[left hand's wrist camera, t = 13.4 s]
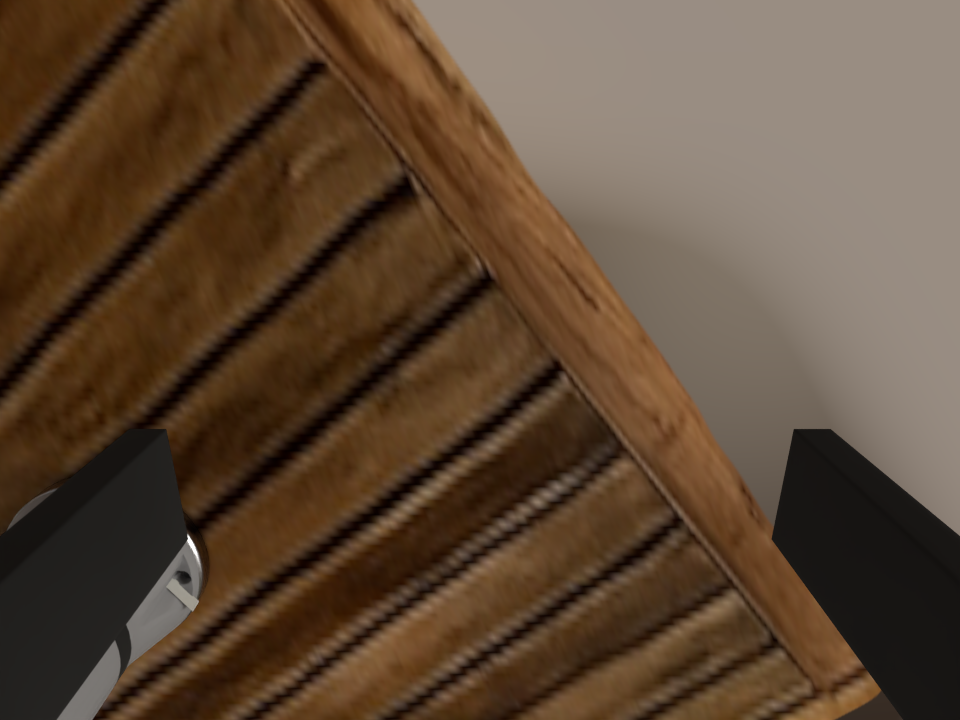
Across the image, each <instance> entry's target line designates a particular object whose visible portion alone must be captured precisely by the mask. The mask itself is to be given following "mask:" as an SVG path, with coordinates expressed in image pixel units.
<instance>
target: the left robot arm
mask: <svg viewBox="0 0 960 720" xmlns="http://www.w3.org/2000/svg"><path fill="white" fill-rule="evenodd" d="M772 540H773V542H774V543H775V545H776V546H777V547H778V549H779V550H780V551H781V553H782V554H783V555H784V557H785V558H786V560H787V561H788V562H789V564H790V565H791V566H792V568H793V569H794V571H795V572H796V573H797V575H798V576H799V577H800V579H801V580H802V582H803V583H804V584H805V586H806V587H807V588H808V590H809V591H810V593H811V594H812V595H813V597H814V598H815V599H816V601H817V602H818V603H819V605H820V606H821V608H822V609H823V610H824V612H825V613H826V614H827V616H828V617H829V619H830V620H831V621H832V623H833V624H834V625H835V627H836V628H837V630H838V631H839V632H840V634H841V635H842V636H843V638H844V639H845V641H846V642H847V643H848V645H849V646H850V647H851V649H852V650H853V652H854V653H855V654H856V656H857V657H858V658H859V660H860V661H861V662H862V664H863V665H864V667H865V668H866V669H867V671H868V672H869V673H870V675H871V676H872V678H873V679H874V680H875V682H876V683H877V684H878V686H879V687H880V689H881V690H882V691H883V693H884V694H885V695H886V697H887V698H888V699H889V701H890V702H891V704H892V705H893V706H894V708H895V709H896V710H897V712H898V713H899V715H900V716H901V717H902V719H903V720H960V536H959V535H958V534H957V533H955V532H954V531H953V530H952V529H951V528H949V527H948V526H947V525H946V524H945V523H943V522H942V521H941V520H940V519H938V518H937V517H936V516H935V515H934V514H932V513H931V512H930V511H929V510H928V509H926V508H925V507H924V506H923V505H922V504H920V503H919V502H918V501H917V500H915V499H914V498H913V497H912V496H911V495H909V494H908V493H907V492H906V491H905V490H903V489H902V488H901V487H900V486H899V485H897V484H896V483H895V482H894V481H893V480H891V479H890V478H889V477H888V476H887V475H885V474H884V473H883V472H882V471H880V470H879V469H878V468H877V467H876V466H874V465H873V464H872V463H871V462H870V461H868V460H867V459H866V458H865V457H864V456H862V455H861V454H860V453H859V452H858V451H856V450H855V449H854V448H853V447H851V446H850V445H849V444H848V443H847V442H845V441H844V440H843V439H842V438H841V437H839V436H838V435H837V434H836V433H835V432H833V431H832V430H831V429H794V431H793V436H792V441H791V446H790V451H789V456H788V461H787V466H786V471H785V476H784V481H783V485H782V491H781V495H780V501H779V505H778V510H777V515H776V520H775V525H774V530H773V535H772ZM208 575H209V558H208V553H207V549H206V546H205V543H204V541H203V538H202V536H201V534H200V533H199V531H198V529H197V527H196V526H195V525H194V523H193V522H192V520H191V519H190V518H189V517H188V516H187V515H186V514H185V513H184V512H183V510H182V505H181V500H180V495H179V490H178V485H177V481H176V476H175V471H174V466H173V461H172V456H171V451H170V446H169V441H168V436H167V431H166V429H129V430H128V431H127V432H125V433H124V434H123V435H122V436H121V437H119V438H118V439H117V440H116V441H115V442H113V443H112V444H111V445H110V446H109V447H107V448H106V449H105V450H104V451H102V452H101V453H100V454H99V455H98V456H96V457H95V458H94V459H93V460H92V461H90V462H89V463H88V464H87V465H86V466H84V467H83V468H82V469H81V470H80V471H78V472H77V473H76V474H75V475H73V476H72V477H71V478H69V479H65V480H62V481H60V482H57V483H55V484H53V485H51V486H50V487H48V488H46V489H45V490H44V491H42V492H41V493H40V494H38V495H37V496H36V497H35V498H33V499H32V500H31V501H30V502H28V503H27V504H26V505H25V506H24V507H23V508H22V509H21V510H20V511H19V512H18V513H17V514H16V516H15V517H14V519H13V520H12V522H11V524H10V525H9V527H8V529H7V531H6V532H5V533H3V534H2V535H1V536H0V720H92V719H93V718H94V716H95V715H96V713H97V712H98V710H99V709H100V707H101V706H102V704H103V703H104V701H105V700H106V698H107V697H108V695H109V694H110V692H111V691H112V689H113V688H114V686H115V684H116V683H117V681H118V680H119V678H120V677H121V675H122V674H123V672H124V671H125V669H126V668H127V667H128V666H129V665H130V664H131V663H132V662H134V661H135V660H136V659H137V658H139V657H140V656H141V655H142V654H144V653H145V652H146V651H147V650H149V649H150V648H151V647H152V646H154V645H155V644H156V643H157V642H159V641H160V640H161V639H162V638H164V637H165V636H166V635H167V634H169V633H170V632H171V631H172V630H174V629H175V628H176V627H177V626H179V625H180V624H181V623H182V622H183V621H184V620H185V619H186V618H187V617H188V615H189V614H190V613H191V611H193V610H194V609H195V607H196V606H197V604H198V602H199V601H198V600H199V598H200V597H201V595H202V593H203V591H204V589H205V587H206V584H207V580H208Z"/></svg>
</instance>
